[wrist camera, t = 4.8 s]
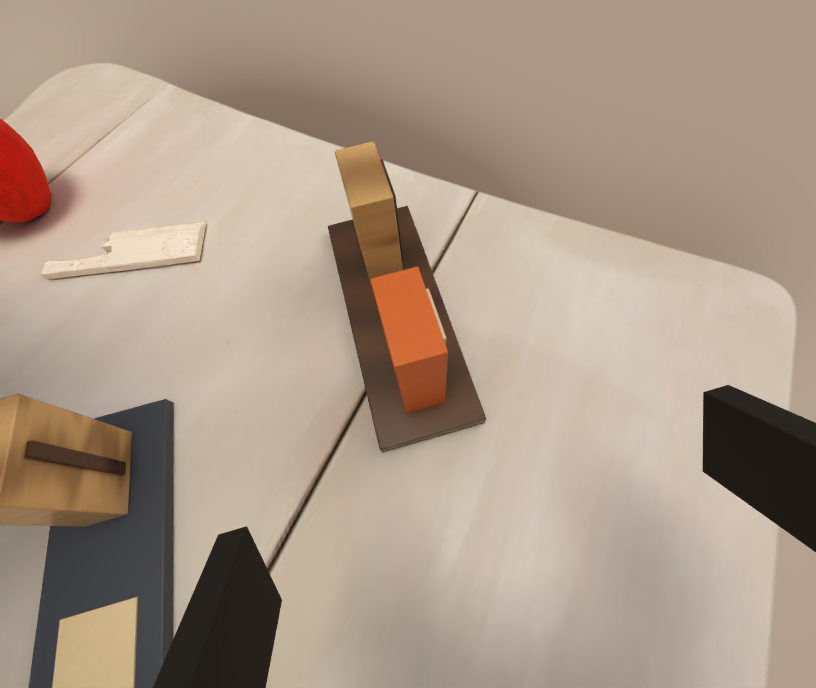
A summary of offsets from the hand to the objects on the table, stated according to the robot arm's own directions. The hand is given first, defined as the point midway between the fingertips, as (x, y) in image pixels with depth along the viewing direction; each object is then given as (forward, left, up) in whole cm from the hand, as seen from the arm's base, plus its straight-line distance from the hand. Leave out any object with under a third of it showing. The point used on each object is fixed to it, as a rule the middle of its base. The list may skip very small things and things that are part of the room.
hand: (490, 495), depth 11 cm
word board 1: (-14, -19, -17) cm, 29 cm away
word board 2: (-14, +8, -17) cm, 24 cm away
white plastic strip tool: (-39, -5, -17) cm, 43 cm away
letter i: (-20, -16, -16) cm, 30 cm away
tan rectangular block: (-20, +11, -16) cm, 28 cm away
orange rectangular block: (-9, +5, -16) cm, 19 cm away
